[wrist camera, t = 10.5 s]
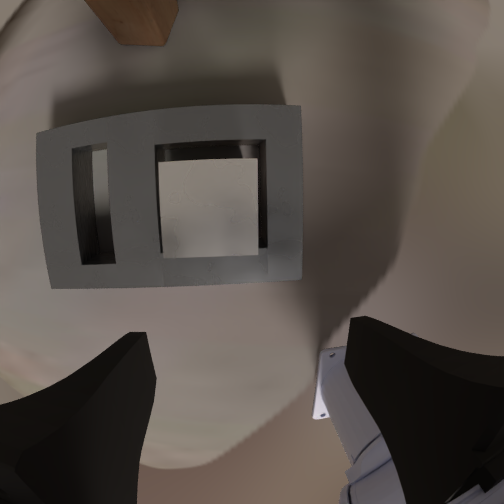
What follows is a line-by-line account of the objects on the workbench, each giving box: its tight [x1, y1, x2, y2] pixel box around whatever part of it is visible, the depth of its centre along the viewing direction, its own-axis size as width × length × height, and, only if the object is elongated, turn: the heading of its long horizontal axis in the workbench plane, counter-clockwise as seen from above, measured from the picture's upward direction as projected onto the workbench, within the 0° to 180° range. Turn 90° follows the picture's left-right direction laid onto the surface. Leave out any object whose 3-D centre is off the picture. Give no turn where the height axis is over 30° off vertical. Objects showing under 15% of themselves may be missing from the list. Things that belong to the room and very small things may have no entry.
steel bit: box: [158, 158, 258, 258], centre depth 15 cm, size 4×4×7 cm
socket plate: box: [36, 104, 303, 289], centre depth 17 cm, size 16×10×3 cm, turn 91°
